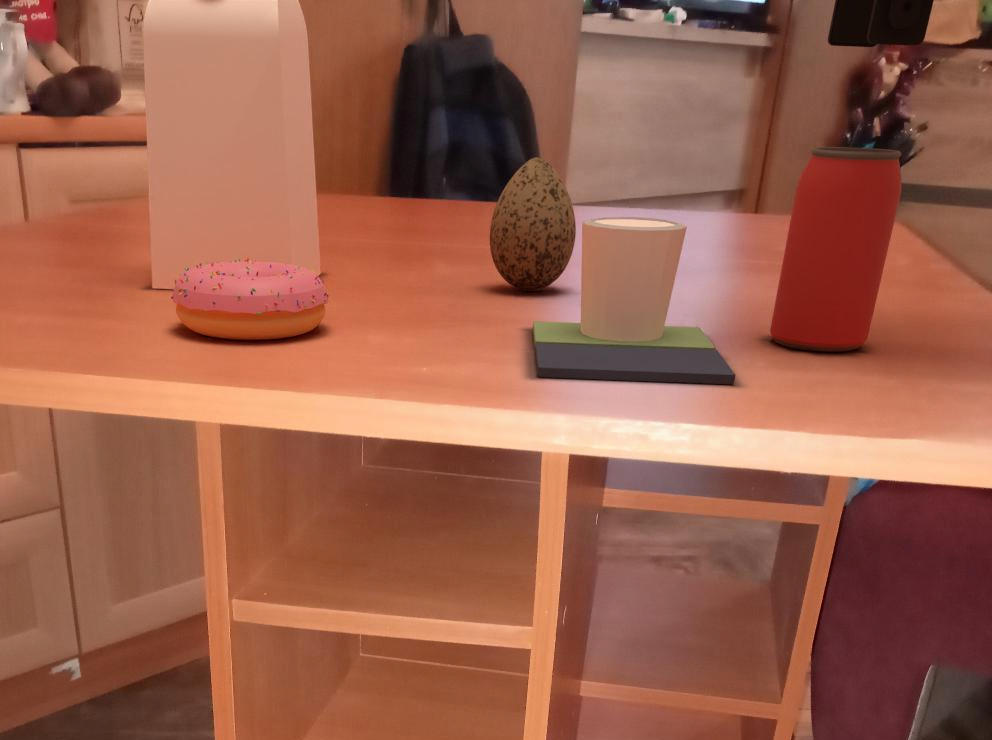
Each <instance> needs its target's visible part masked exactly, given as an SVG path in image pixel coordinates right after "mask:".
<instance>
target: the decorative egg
mask: <svg viewBox="0 0 992 740" xmlns="http://www.w3.org/2000/svg"><path fill="white" fill-rule="evenodd" d="M572 202H573V201H572V199H571V196H570V194H569V192H568V189H567V187H566V185H565V183H564V181H563V180H562V177H561V176H560V175H559V173H558V172H557V171H556V169H555V167H553V165H551V164H550V162H549V161H547V160H546V159H545V158H542V157H538V156H536V157H533V158H530V159H529V160H527V161H526V162H525V163H524V164H522V165H521V166H520V167H519V169H518V170H517V171H516V172H515V173H514V174H513V175H512V176H511V178H510V179H509V181H508V182H507V184H506V185H505V187H504V189H503V190H502V192H501V193H500V195H499V197H498V200H497V201H496V204H495V207H494V209H493V213H492V217H491V221H490V226H489V227H490V229H489V249H490V254H491V258H492V262H493V264H494V267H495V268H496V270H497V272H498V274H499V275H500V277H501V278H502V279H503V280H504V281H505V282H506V283H507V284H509V285H510V286H512V287H514V288H515V289H518V290H519V291H525V292H535V291H539V290H543V289H545V288H547V287H548V286H550V285H552V284H553V283H554V282H556V281H557V280H558V279H559V278H560V277H561V276H562V274H563V273H564V272H565V270H566V269H567V266H568V265H569V262H570V261H571V257H572V256H573V255H572V254H573V251H574V247H575V242H576V235H577V227H576V226H577V225H576V223H577V222H576V217H575V216H576V215H575V211H574V207H573V203H572Z"/></svg>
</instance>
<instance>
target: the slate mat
mask: <svg viewBox="0 0 992 740" xmlns="http://www.w3.org/2000/svg"><path fill="white" fill-rule="evenodd" d="M534 357H535V367H536V375H537V376H536V377H537V378H553V379H578V380H580V379H581V380H607V381H627V382H632V381H633V382H655V383H680V384H681V383H683V384H708V385H709V384H711V385H734V384H735V381H736V374H735V372H734V371H733V370H732V368H731V367H730V365H729V364H728V363H727V362H726V360H725V358H723V356H722V354H720V352H719V351H718V350H717V349H715V350H697V349H670V348H643V347H615V346H588V345H561V344H536V345H535V348H534Z"/></svg>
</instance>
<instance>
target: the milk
mask: <svg viewBox="0 0 992 740" xmlns="http://www.w3.org/2000/svg"><path fill="white" fill-rule="evenodd" d="M143 16H144V18H143V25H142V45H143V46H142V47H143V48H142V49H143V73H144V75H143V77H144V99H145V100H144V101H145V103H144V104H145V122H146V123H145V125H146V126H145V127H146V129H145V130H146V156H147V158H146V159H147V180H148V181H147V182H148V183H147V184H148V209H149V210H148V211H149V235H150V237H149V238H150V264H151V265H150V266H151V267H150V268H151V289H157V290H158V289H161V290H174V287H175V280H176V282H177V280H178V278H179V275H180V273H181V275H182V274H183V273H184V272H185V271H186V270H185V268H186V269H188V268H189V269H191V268H194V267H196V265H197V266H200V263H201V265H205V264H206V262H208V264H212V263H217V262H218V263H222V262H230V260H232V261H233V262H235V260H236V262H239V259H240V262H245V260H246V261H247V259H248V258H249V260H248V261H251V262H255V261H256V262H273V263H284V264H291V265H296V266H300V267H303V268H307V269H308V270H312V269H314V271H313V272H315V273H316V275H317V276H318V277H319V276H320V275H321V273H322V271H321V252H320V233H319V217H318V216H319V215H318V201H317V200H318V199H317V181H316V179H317V178H316V162H315V159H316V158H315V143H314V129H313V128H314V123H313V108H312V107H313V105H312V90H311V89H312V87H311V69H310V53H309V51H310V50H309V37H308V29H307V23H306V19H305V15H304V12H303V10H302V6H301V3H300V1H299V0H148V1H147V3H146V8H145V13H144V15H143Z"/></svg>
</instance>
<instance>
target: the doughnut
mask: <svg viewBox="0 0 992 740" xmlns="http://www.w3.org/2000/svg"><path fill="white" fill-rule="evenodd" d="M248 260H249V258H248V259H247V261H246V260H245V262H240V259H239V262H236V260H235V262H233V261H232V260H230V262H222V263H218V262H217V263H212V264H208V262H206V264H205V265H201V263H200V266H197V265H196V267H194V268H191V269H189V268H188V269H186V268H185V270H186V271H185V272H184V273H183V274H182V275H181V273H180V275H179V278H178V280H177V282H176V280H175V287H174V289H172V290H173V291H172V296H170V299H172V301H173V303H175V304H176V305H175V314H176V315H177V318H178V319H179V321H181V323H182V324H183V325H184V326H185V327H187V328H188V329H189V330H191V331H193V332H195V333H197V334H200V335H203V336H207V337H211V338H216V339H217V338H218V339H225V340H238V341H239V340H240V341H242V340H243V341H262V340H263V341H266V340H278V339H286V338H291V337H292V338H293V337H297V336H301V335H304V334H307V333H308V332H311V331H312V330H314V329H315V328H317V327H318V326H319V325H320V324H321V322H322V320H323V319H324V318H325V316H326V306H325V304H328V303H329V297H330V295H329V294H328V292H327V286H325V284H324V282H325V281H324V280H321V278H320V277H319V276H317V275H316V273H315V272H313V271H314V269H312V270H308V269H307V268H303V267H300V266H296V265H291V264H284V263H273V262H256V261H255V262H251V261H248Z"/></svg>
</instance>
